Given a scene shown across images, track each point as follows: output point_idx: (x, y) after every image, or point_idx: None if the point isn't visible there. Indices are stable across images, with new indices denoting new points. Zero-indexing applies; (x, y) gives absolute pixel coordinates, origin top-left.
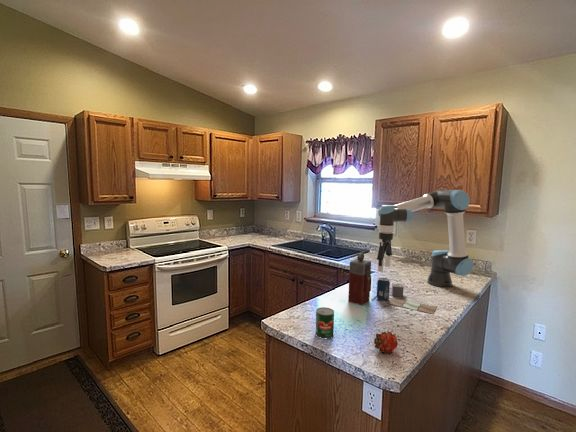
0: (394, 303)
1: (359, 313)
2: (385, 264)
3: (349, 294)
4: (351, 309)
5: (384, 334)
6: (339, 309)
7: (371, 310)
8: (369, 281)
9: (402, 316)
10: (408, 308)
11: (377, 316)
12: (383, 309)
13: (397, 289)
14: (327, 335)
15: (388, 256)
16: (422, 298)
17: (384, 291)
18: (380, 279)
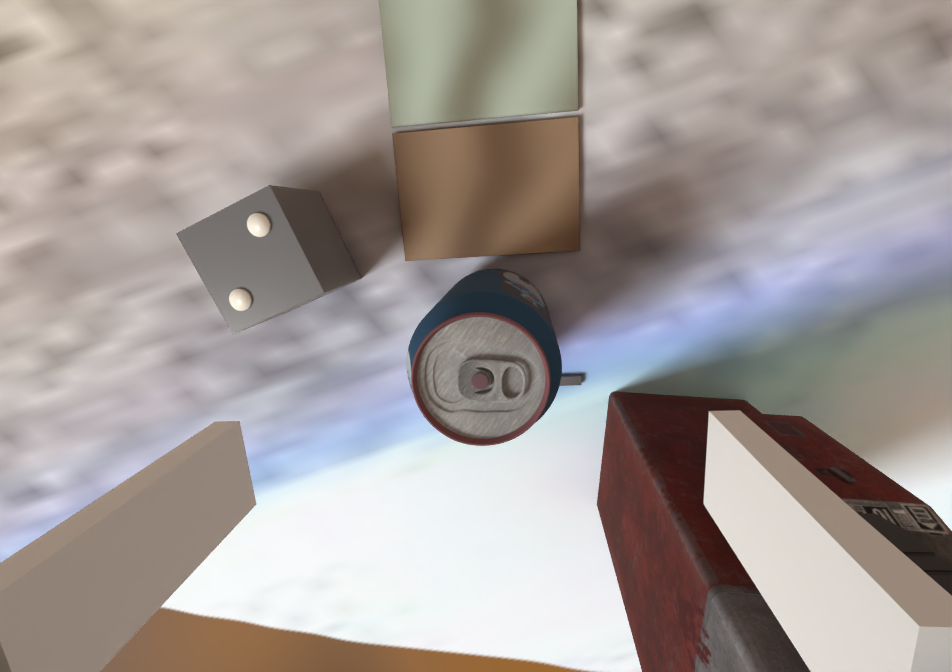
0: (543, 195)
1: (941, 358)
2: (232, 518)
3: None
4: (886, 438)
5: None
6: (936, 508)
7: (817, 303)
8: (858, 480)
9: (809, 24)
10: (576, 45)
11: (931, 213)
12: (734, 229)
13: (314, 243)
14: None
15: (27, 633)
16: (216, 22)
17: (545, 309)
18: (496, 416)
